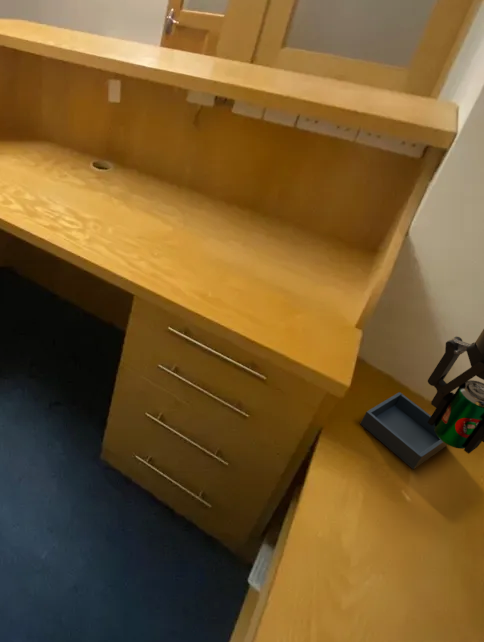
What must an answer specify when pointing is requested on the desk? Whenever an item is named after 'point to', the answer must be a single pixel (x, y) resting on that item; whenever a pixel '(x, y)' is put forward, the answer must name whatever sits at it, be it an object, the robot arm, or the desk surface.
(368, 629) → the desk surface
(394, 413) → the tub
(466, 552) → the desk surface
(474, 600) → the desk surface
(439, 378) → the robot arm
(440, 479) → the desk surface
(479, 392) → the soda can
